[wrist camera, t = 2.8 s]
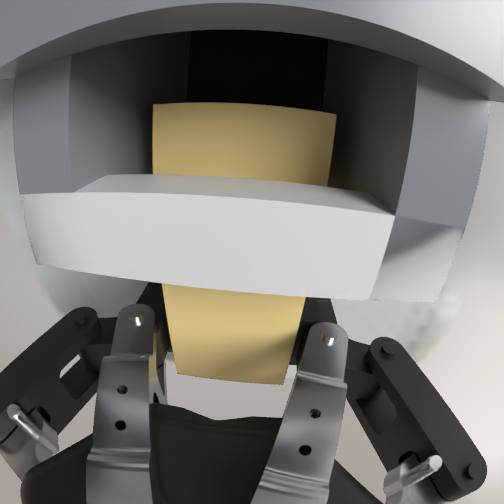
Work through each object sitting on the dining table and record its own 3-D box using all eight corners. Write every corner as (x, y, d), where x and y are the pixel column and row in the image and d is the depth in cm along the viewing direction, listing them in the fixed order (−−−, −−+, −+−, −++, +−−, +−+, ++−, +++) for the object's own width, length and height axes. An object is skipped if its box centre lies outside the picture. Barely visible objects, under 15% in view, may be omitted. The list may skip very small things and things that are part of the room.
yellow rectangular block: (198, 106, 9) (152, 104, 5) (307, 114, 9) (337, 114, 5) (199, 303, 13) (177, 375, 9) (280, 310, 13) (283, 386, 9)
